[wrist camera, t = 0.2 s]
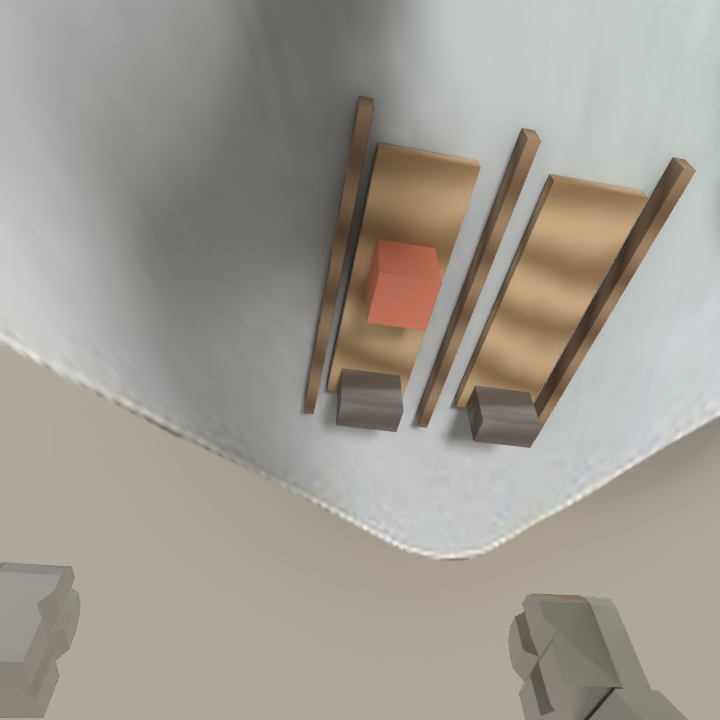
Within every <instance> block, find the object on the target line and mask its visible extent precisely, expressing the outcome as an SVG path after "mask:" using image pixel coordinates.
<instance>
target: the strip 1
mask: <svg viewBox="0 0 720 720" xmlns="http://www.w3.org/2000/svg"><path fill="white" fill-rule="evenodd" d="M479 170H480V165H479V162H478V161H475V160H470V159H464V158H459V157H454V156H448V155H443V154H437V153H432V152H426V151H421V150H415V149H410V148H405V147H399V146H394V145H388V144H383V143H378V144H377V149H376V154H375V158H374V163H373V168H372V173H371V177H370V182H369V187H368V192H367V197H366V201H365V206H364V211H363V216H362V220H361V225H360V230H359V235H358V239H357V244H356V249H355V254H354V258H353V263H352V268H351V273H350V278H349V282H348V287H347V292H346V297H345V301H344V306H343V311H342V316H341V320H340V325H339V330H338V335H337V340H336V344H335V349H334V354H333V359H332V363H331V368H330V373H329V378H328V382H327V391H331V392H337V418H336V425H340V426H349V427H357V428H366V429H374V430H383V431H391V432H396V431H397V429H398V426H399V423H400V420H401V417H402V414H403V402H402V398H403V395H404V392H405V389H406V386H407V383H408V380H409V377H410V374H411V371H412V368H413V365H414V363H415V360H416V357H417V354H418V351H419V348H420V345H421V342H422V339H423V336H424V333H425V331H424V330H417V329H409V328H402V327H395V326H388V325H381V324H374V323H367V304H366V286H367V281H368V277H369V273H370V269H371V264H372V260H373V256H374V252H375V247H376V243H377V239H380V240H386V241H392V242H398V243H405V244H411V245H417V246H423V247H429V248H435V250H436V255H437V260H438V265H439V270H440V275H441V280H443V277H444V274H445V271H446V268H447V265H448V262H449V259H450V256H451V253H452V250H453V247H454V244H455V241H456V238H457V235H458V232H459V230H460V227H461V224H462V221H463V218H464V215H465V212H466V209H467V206H468V203H469V200H470V197H471V194H472V191H473V188H474V185H475V182H476V179H477V176H478V173H479Z"/></svg>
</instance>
